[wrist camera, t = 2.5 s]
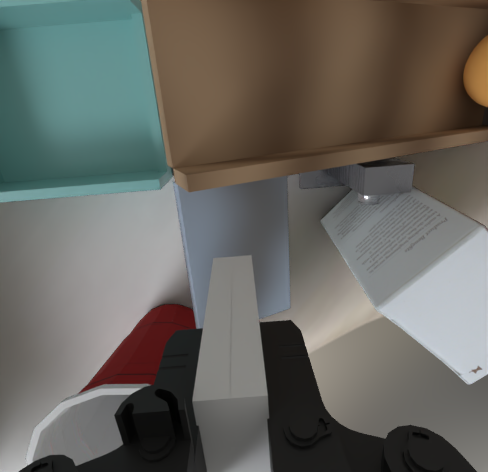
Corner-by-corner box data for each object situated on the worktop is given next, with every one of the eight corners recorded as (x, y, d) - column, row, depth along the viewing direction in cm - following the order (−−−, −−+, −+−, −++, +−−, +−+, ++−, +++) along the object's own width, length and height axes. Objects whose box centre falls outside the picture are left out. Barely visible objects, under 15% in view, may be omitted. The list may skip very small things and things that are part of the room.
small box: (441, 230, 24) (577, 324, 15) (383, 277, 26) (471, 389, 16) (376, 162, 22) (489, 222, 12) (316, 219, 23) (376, 312, 14)
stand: (299, 187, 23) (327, 217, 16) (297, -36, 18) (335, -124, 11) (381, 180, 23) (443, 208, 16) (401, -44, 18) (500, -136, 11)
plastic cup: (221, 262, 25) (212, 383, 14) (247, 366, 29) (255, 527, 18) (89, 287, 25) (-25, 424, 14) (132, 386, 29) (69, 556, 18)
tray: (3, 190, 22) (-58, 210, 18) (-57, 24, 19) (-154, -6, 14) (172, 176, 22) (156, 193, 18) (145, 8, 19) (116, -28, 14)
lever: (193, 323, 16) (220, 377, 13) (136, -28, 11) (158, -98, 7) (467, 232, 24) (529, 250, 21) (512, 5, 19) (605, -21, 16)
